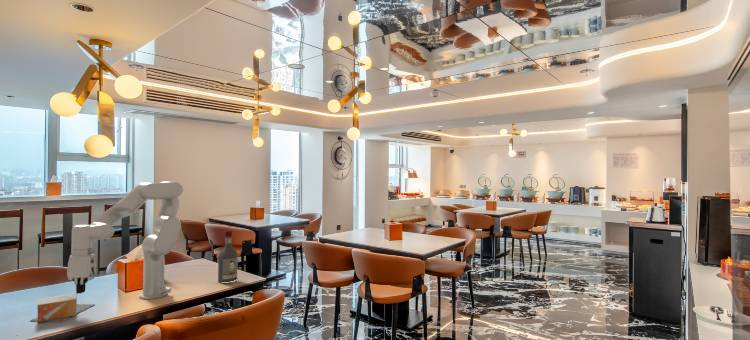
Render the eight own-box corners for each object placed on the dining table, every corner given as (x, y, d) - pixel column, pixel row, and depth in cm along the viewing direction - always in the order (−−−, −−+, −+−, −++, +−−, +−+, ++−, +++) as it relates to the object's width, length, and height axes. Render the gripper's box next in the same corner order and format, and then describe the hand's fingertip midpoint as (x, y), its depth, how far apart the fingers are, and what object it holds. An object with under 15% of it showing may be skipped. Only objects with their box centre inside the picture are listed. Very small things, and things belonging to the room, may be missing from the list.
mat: (94, 305, 182) (94, 304, 182) (61, 321, 162) (61, 320, 162) (67, 305, 181) (67, 304, 181) (30, 321, 161) (30, 320, 161)
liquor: (216, 281, 223) (217, 230, 224) (231, 278, 230) (232, 229, 231) (224, 284, 217) (225, 232, 218) (238, 281, 224) (239, 230, 225)
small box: (76, 315, 167) (37, 322, 159) (76, 309, 172) (38, 315, 164) (76, 298, 166) (37, 305, 158) (76, 292, 171) (38, 298, 163)
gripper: (104, 250, 176) (103, 290, 176) (71, 250, 175) (70, 290, 175) (92, 254, 168) (91, 295, 168) (58, 253, 168) (57, 295, 168)
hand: (80, 292), depth 172 cm, fingers closed
